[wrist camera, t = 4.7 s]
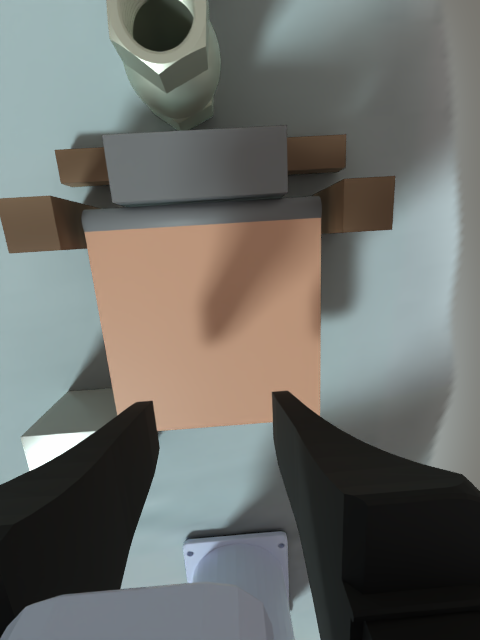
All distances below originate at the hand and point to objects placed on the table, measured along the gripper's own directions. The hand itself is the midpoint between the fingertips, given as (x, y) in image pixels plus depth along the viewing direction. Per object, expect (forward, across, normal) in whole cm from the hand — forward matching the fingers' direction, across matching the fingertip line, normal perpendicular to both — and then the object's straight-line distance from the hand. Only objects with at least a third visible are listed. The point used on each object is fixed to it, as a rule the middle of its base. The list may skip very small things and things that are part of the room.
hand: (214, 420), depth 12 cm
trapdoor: (+5, 0, -4) cm, 6 cm away
